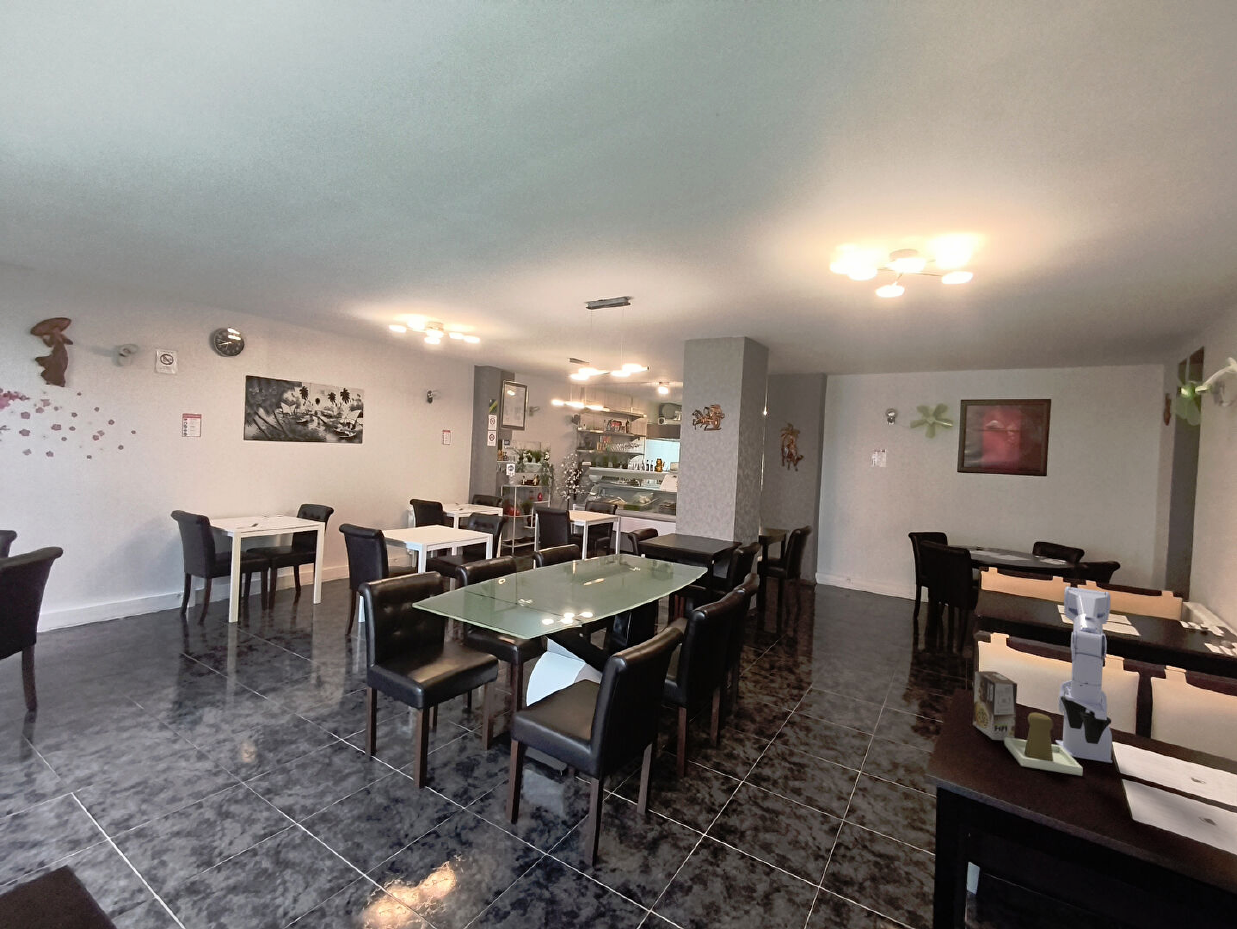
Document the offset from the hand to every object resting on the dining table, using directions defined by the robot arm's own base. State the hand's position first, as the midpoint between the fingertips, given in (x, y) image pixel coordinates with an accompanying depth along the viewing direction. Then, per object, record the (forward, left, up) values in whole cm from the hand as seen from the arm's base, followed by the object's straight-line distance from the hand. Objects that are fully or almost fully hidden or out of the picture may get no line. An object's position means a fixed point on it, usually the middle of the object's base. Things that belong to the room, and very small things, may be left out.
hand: (1083, 735), depth 135 cm
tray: (+6, -6, -10) cm, 13 cm away
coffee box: (+13, -18, -11) cm, 25 cm away
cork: (+7, -6, -10) cm, 13 cm away
